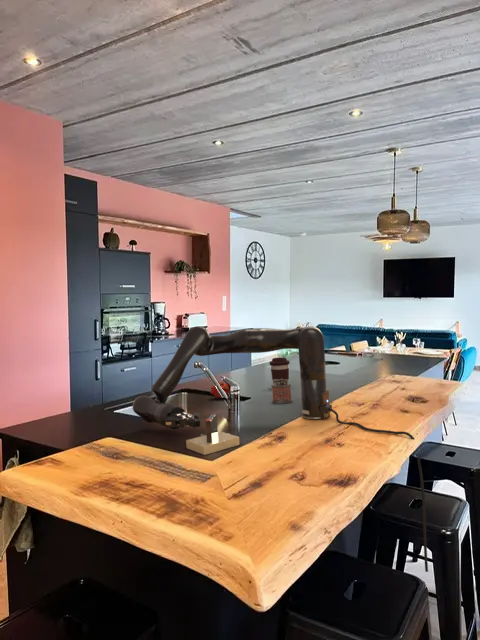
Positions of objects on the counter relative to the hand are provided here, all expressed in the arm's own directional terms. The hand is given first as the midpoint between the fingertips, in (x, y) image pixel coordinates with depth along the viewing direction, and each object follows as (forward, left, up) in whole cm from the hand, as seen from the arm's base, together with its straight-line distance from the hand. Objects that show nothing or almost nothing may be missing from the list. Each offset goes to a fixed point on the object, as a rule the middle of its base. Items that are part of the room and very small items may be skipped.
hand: (197, 423), depth 148 cm
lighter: (+6, -67, -8) cm, 68 cm away
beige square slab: (-3, -3, -8) cm, 9 cm away
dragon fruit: (+37, -67, -8) cm, 77 cm away
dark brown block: (-3, -3, -5) cm, 7 cm away
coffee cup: (+22, -97, -8) cm, 100 cm away
